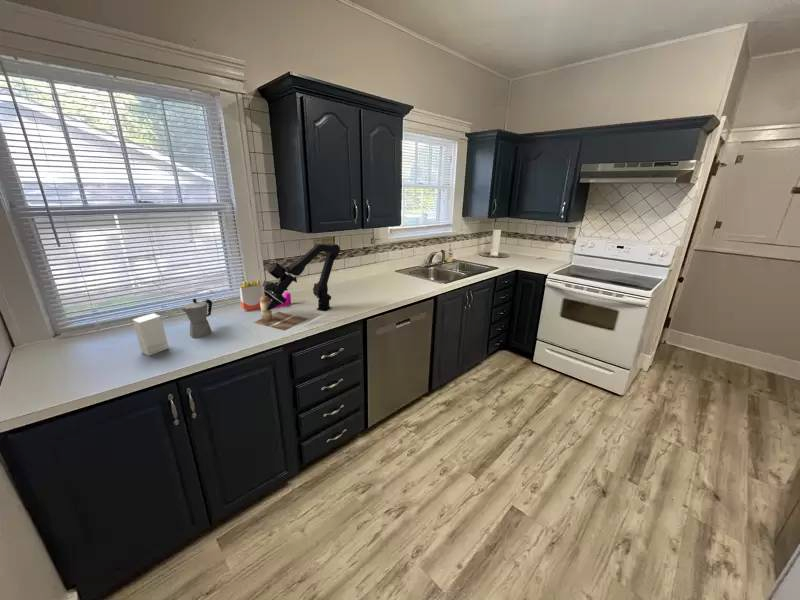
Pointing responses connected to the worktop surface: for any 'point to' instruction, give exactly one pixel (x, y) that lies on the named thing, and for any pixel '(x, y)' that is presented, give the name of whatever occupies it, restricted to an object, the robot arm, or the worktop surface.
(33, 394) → the worktop surface
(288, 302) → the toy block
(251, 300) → the french fries container
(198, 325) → the coffeepot
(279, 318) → the walnut board
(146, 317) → the skincare box
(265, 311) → the wooden pin
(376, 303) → the worktop surface
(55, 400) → the worktop surface
